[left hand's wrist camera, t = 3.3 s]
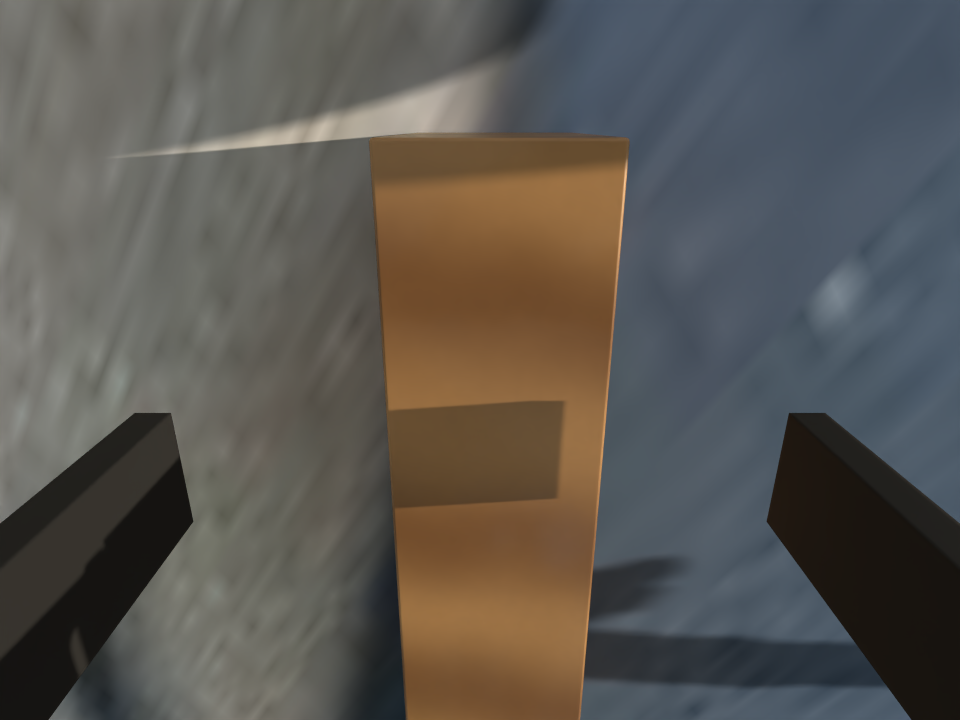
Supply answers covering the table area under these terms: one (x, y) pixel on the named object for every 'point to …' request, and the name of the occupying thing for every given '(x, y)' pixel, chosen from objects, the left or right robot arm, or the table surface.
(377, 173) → the beam
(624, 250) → the table surface
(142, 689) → the table surface
